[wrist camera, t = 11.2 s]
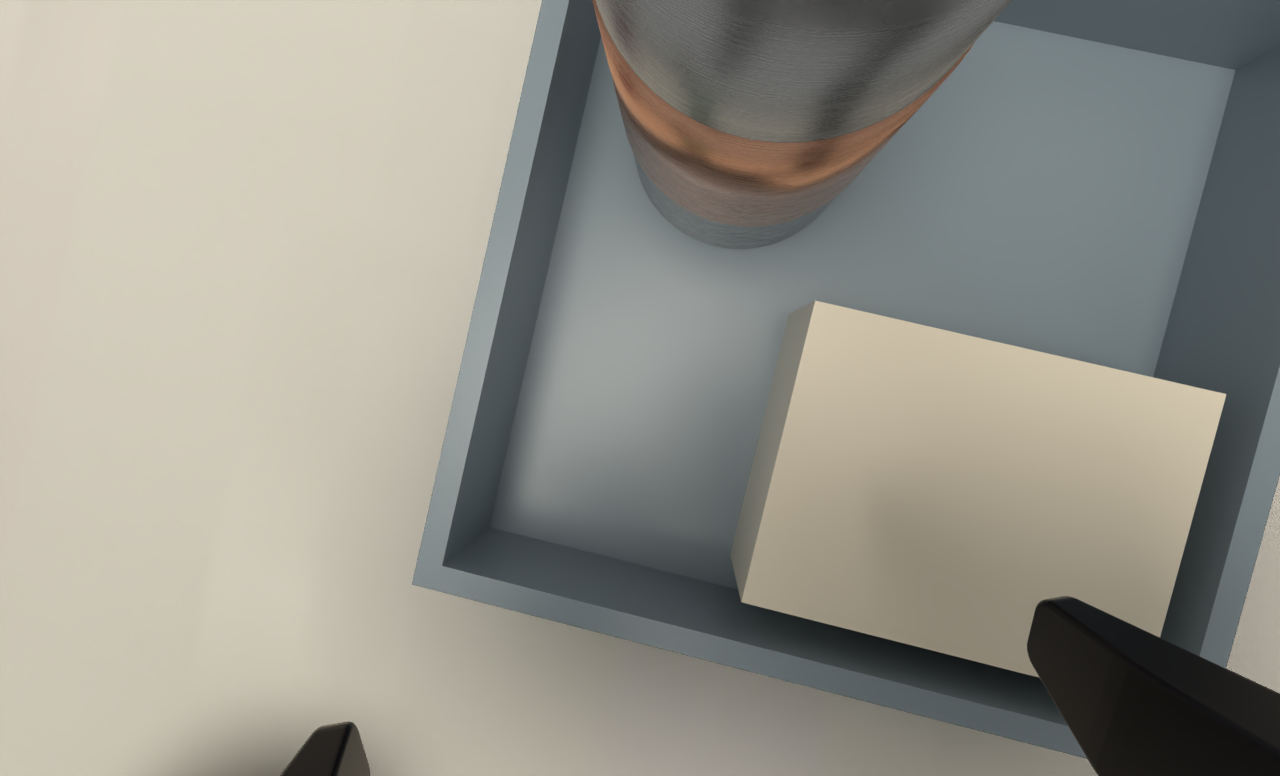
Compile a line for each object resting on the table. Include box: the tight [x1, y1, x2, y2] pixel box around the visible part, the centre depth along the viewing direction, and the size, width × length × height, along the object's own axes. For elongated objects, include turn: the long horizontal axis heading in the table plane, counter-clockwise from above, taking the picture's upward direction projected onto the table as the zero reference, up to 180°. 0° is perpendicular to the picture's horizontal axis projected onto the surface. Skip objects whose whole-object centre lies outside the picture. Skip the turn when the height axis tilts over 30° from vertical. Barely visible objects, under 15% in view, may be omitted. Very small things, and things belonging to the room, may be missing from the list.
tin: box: [592, 0, 1012, 249], centre depth 13 cm, size 6×6×13 cm
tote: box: [412, 0, 1280, 758], centre depth 18 cm, size 18×18×4 cm
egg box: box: [730, 301, 1226, 678], centre depth 18 cm, size 9×7×4 cm
